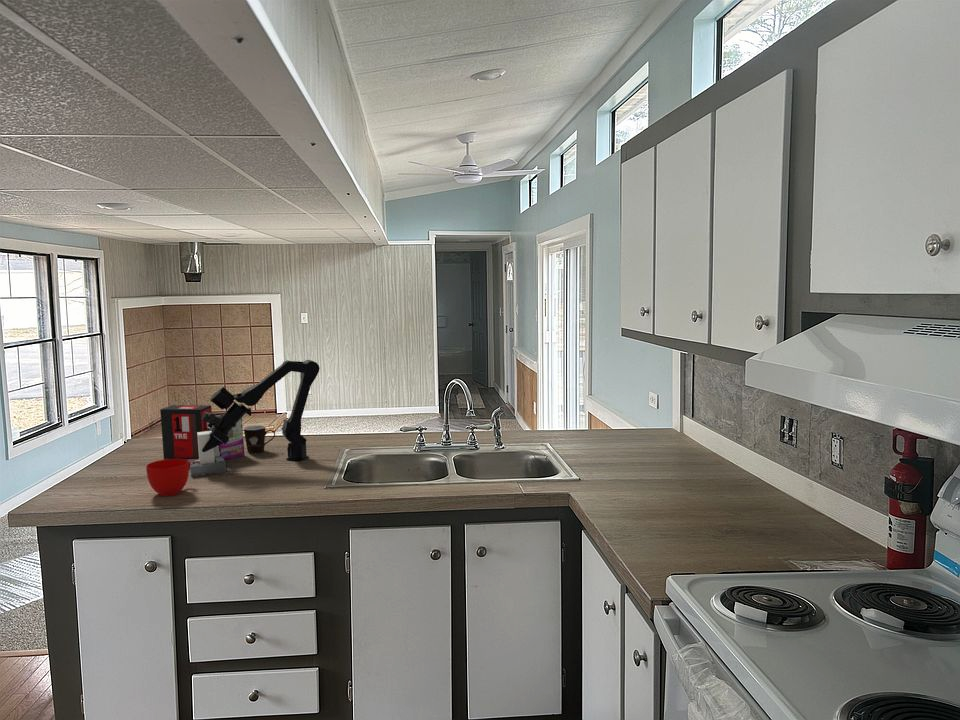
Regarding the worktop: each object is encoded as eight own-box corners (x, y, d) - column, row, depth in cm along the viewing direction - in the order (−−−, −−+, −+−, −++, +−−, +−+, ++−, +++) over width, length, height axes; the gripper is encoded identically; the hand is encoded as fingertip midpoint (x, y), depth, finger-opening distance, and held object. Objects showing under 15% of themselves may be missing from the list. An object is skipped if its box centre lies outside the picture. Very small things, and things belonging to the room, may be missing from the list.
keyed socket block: (222, 464, 268) (222, 455, 267) (226, 472, 257) (225, 462, 256) (188, 468, 262) (188, 459, 262) (191, 476, 252) (190, 467, 251)
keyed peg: (213, 464, 263) (211, 430, 261) (215, 467, 258) (212, 433, 257) (195, 466, 260) (192, 432, 258) (196, 470, 256) (193, 435, 254)
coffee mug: (240, 453, 284) (239, 429, 283) (253, 448, 292) (251, 425, 291) (265, 455, 280) (263, 430, 279) (277, 450, 289) (276, 426, 287)
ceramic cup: (206, 485, 241) (204, 456, 240) (172, 500, 225) (170, 470, 224) (174, 482, 245) (172, 454, 243) (139, 497, 228) (137, 467, 227)
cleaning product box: (163, 459, 278) (160, 409, 275) (175, 453, 286) (172, 405, 284) (203, 459, 276) (200, 409, 273) (214, 453, 285) (211, 405, 282)
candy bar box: (237, 453, 284) (235, 413, 282) (244, 455, 281) (242, 415, 279) (212, 459, 275) (210, 418, 273) (219, 461, 272) (217, 420, 270)
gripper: (211, 400, 267) (182, 431, 263) (217, 407, 250) (185, 441, 247) (234, 418, 271) (206, 449, 268) (241, 427, 254) (211, 460, 251)
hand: (202, 449), depth 258 cm, fingers closed on keyed peg, 5 cm apart
